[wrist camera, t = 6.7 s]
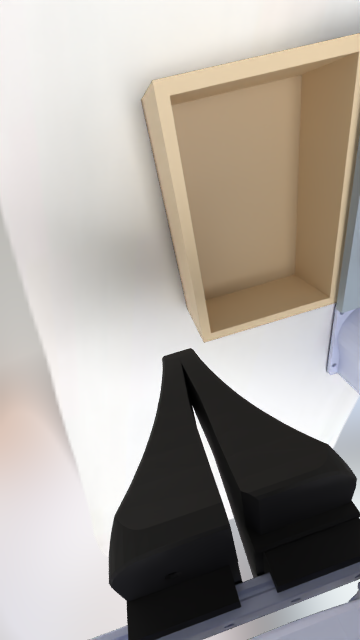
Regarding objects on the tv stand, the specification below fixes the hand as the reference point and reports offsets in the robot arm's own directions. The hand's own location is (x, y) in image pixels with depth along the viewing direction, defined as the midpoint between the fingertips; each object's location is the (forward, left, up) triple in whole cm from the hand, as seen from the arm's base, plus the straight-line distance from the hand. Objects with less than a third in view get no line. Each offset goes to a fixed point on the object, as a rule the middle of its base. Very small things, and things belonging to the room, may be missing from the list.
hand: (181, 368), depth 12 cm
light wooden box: (+4, -7, -11) cm, 13 cm away
